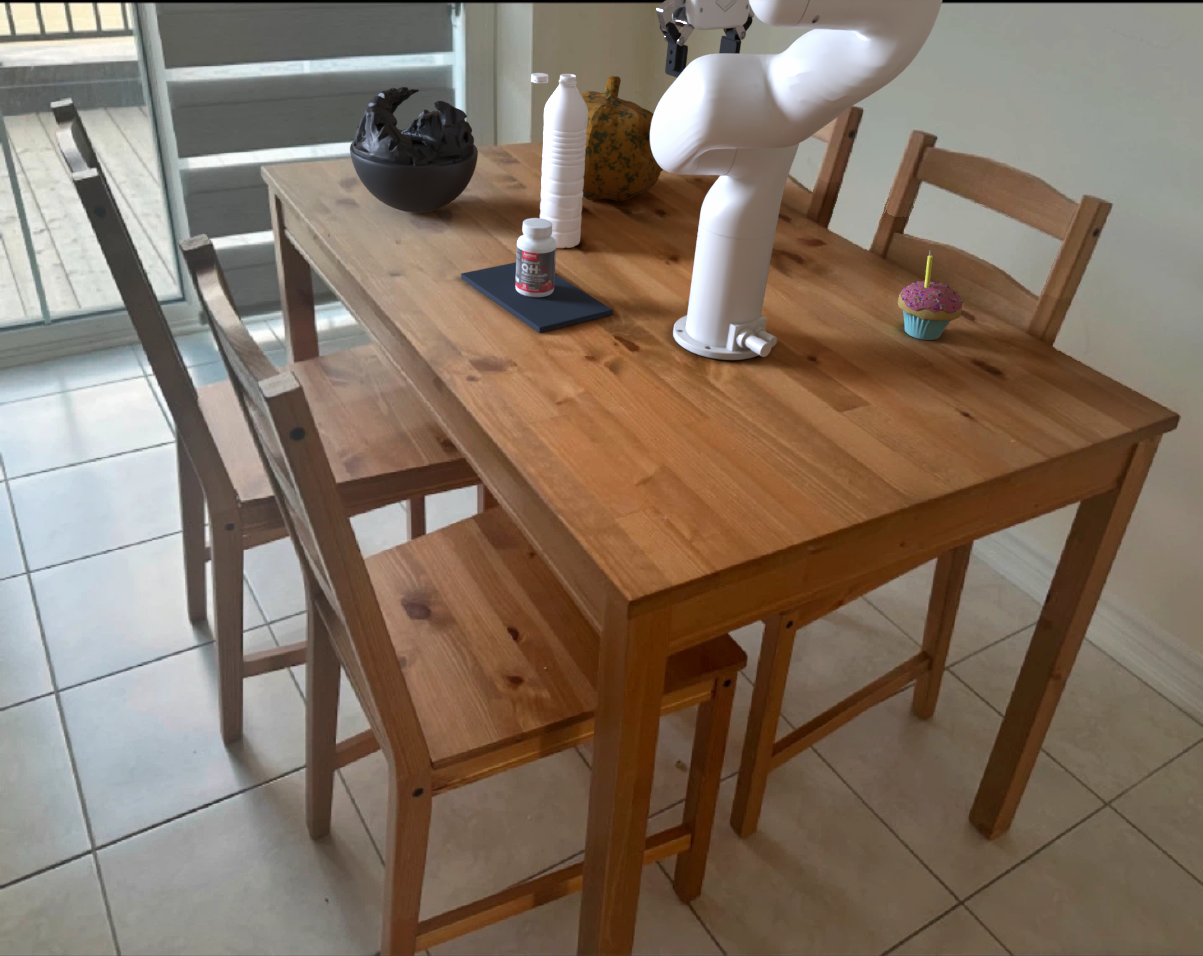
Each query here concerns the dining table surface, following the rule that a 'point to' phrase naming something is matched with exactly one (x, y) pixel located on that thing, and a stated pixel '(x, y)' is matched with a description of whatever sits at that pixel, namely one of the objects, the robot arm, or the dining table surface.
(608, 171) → the decorative pumpkin
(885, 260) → the dining table surface
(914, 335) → the cupcake
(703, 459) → the dining table surface
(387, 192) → the black sculptural bowl
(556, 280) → the mat
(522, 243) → the pill bottle
